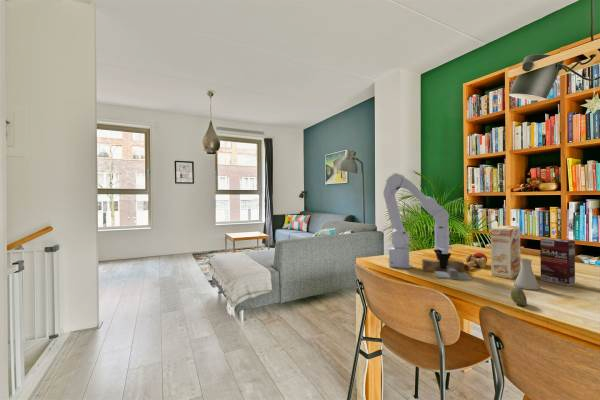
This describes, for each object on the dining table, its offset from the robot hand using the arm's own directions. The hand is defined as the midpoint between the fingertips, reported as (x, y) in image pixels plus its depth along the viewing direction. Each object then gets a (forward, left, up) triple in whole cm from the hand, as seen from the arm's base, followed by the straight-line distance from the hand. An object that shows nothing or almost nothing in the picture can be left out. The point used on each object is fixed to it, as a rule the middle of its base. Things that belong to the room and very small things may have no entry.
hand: (442, 267), depth 122 cm
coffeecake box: (+24, 0, -2) cm, 24 cm away
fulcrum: (+2, -9, -1) cm, 9 cm away
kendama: (+15, +9, -2) cm, 17 cm away
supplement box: (+37, -9, -2) cm, 38 cm away
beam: (0, 0, -2) cm, 2 cm away
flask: (+24, -18, -2) cm, 30 cm away
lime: (+15, -37, -2) cm, 40 cm away
